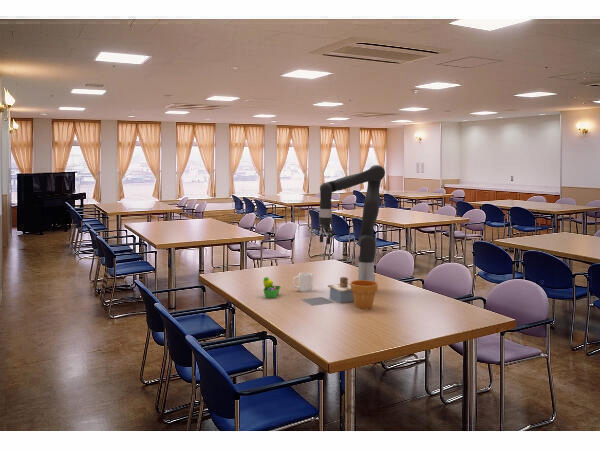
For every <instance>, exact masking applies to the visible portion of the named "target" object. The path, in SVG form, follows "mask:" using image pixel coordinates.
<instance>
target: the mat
mask: <svg viewBox="0 0 600 450" xmlns="http://www.w3.org/2000/svg"><path fill="white" fill-rule="evenodd" d="M300 301H303V302H304V303H306V304H308V305H310V306H311V307H312V306H320V305H328V304H335V303H336V302H335V301H332V300H330V299H327V298H325V297H323V296H318V297H310V298H303V299H300Z"/></svg>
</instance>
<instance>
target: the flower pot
mask: <svg viewBox="0 0 600 450" xmlns="http://www.w3.org/2000/svg"><path fill="white" fill-rule="evenodd" d="M350 284H351V290H352V292H353V298H354V301H353V302H354V306H355V307H356V308H358V309H362V310H363V309H364V310H368V308H369V309H372V307H373V303H374V299H375V296H376V293H377V291H378V282H377V281H375V282H374V281H369V280H358V279H357V280H353V281H351V282H350Z"/></svg>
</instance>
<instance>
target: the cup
mask: <svg viewBox="0 0 600 450" xmlns="http://www.w3.org/2000/svg"><path fill="white" fill-rule="evenodd" d="M296 279H298V285H296V284H295V280H296ZM292 286H293V287H294V288H295V289H298V291H299V292H302V293H307V292H308V293H309V292H312V291H313V273H311V272H299V273H298V275H296V276H294V277H293V278H292Z"/></svg>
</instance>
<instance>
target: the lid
mask: <svg viewBox="0 0 600 450" xmlns="http://www.w3.org/2000/svg"><path fill="white" fill-rule="evenodd" d="M348 279H349V278H348V277H347V276H341V277H339V283H335V284H328V285H327V287H328V288H329V289H330V288H332V289H335V290H337V291H340V292H342V291H350V290H351V283H349V281H348Z"/></svg>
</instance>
